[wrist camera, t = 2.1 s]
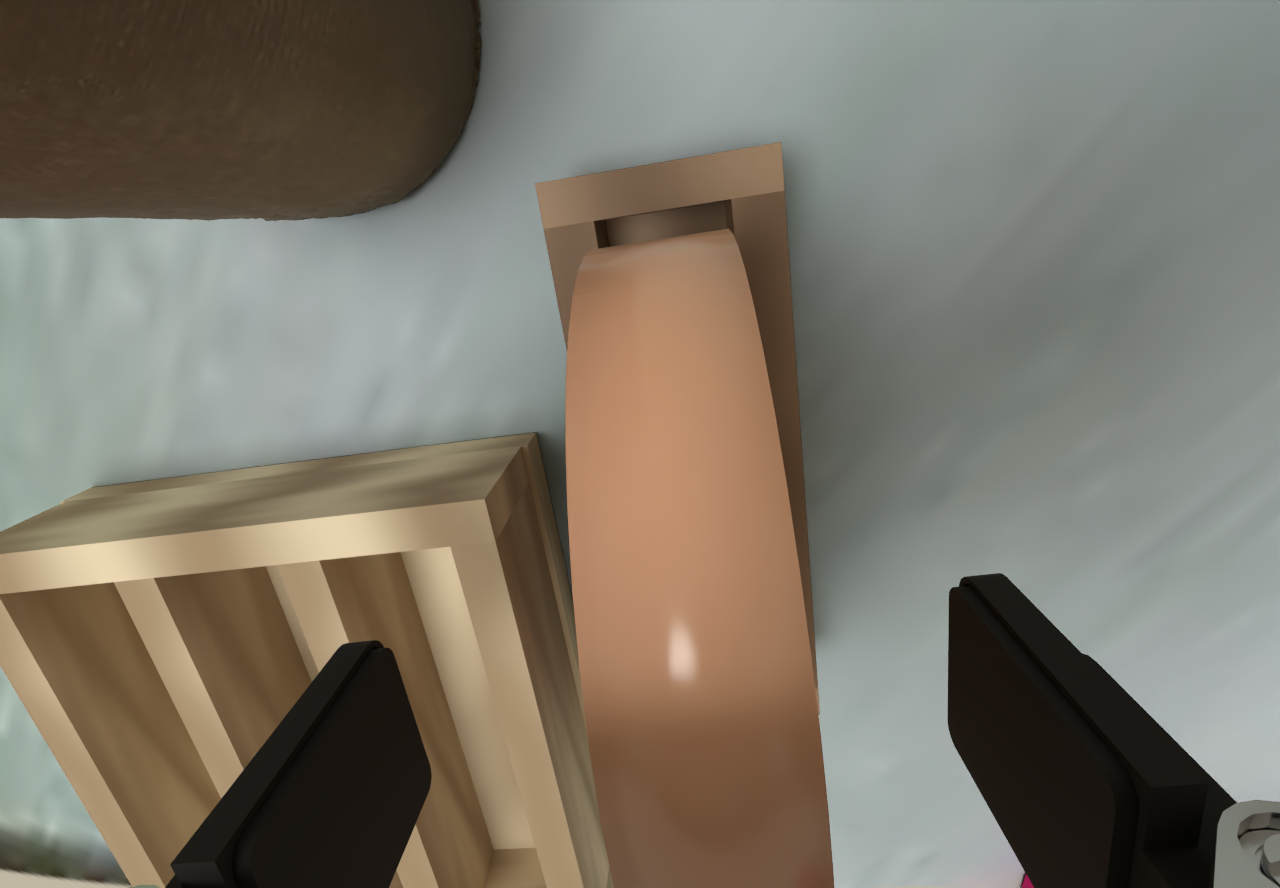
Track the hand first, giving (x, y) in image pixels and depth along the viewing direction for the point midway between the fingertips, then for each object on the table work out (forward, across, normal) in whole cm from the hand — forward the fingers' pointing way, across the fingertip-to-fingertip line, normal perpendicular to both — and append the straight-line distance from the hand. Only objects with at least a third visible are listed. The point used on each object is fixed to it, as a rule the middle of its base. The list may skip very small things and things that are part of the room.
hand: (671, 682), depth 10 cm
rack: (+11, +12, +7) cm, 18 cm away
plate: (+9, -1, -1) cm, 9 cm away
